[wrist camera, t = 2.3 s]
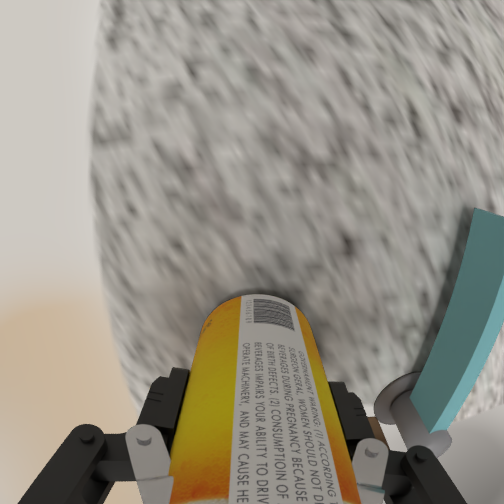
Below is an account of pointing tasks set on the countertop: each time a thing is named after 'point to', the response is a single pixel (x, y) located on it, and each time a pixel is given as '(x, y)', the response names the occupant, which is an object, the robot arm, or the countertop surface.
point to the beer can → (259, 414)
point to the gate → (458, 340)
